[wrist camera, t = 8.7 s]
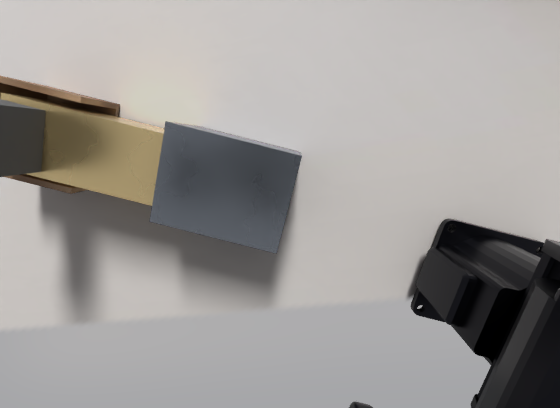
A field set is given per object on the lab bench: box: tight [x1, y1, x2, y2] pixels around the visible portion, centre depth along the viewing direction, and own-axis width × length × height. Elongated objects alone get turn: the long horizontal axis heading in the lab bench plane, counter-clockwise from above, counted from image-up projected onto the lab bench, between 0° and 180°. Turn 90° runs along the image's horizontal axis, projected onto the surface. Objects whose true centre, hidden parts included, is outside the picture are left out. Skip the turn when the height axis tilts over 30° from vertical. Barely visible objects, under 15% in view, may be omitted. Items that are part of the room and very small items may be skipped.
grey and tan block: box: [0, 93, 164, 206], centre depth 14 cm, size 9×4×10 cm, turn 76°
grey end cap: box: [150, 122, 302, 253], centre depth 17 cm, size 6×5×5 cm
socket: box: [0, 76, 120, 194], centre depth 17 cm, size 5×5×3 cm
